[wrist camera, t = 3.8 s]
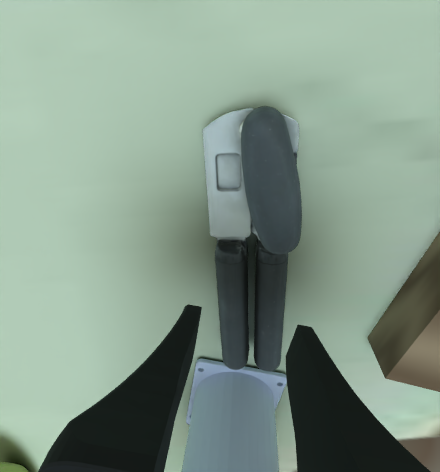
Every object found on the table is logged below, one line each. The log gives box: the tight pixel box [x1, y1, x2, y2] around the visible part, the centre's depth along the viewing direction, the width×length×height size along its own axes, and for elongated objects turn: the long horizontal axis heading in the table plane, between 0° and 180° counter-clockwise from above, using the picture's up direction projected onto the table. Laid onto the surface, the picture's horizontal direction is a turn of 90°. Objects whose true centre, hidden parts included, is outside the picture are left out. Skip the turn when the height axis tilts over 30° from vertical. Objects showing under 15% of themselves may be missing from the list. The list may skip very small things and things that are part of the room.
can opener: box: [203, 106, 302, 371], centre depth 19 cm, size 19×5×6 cm, turn 3°
